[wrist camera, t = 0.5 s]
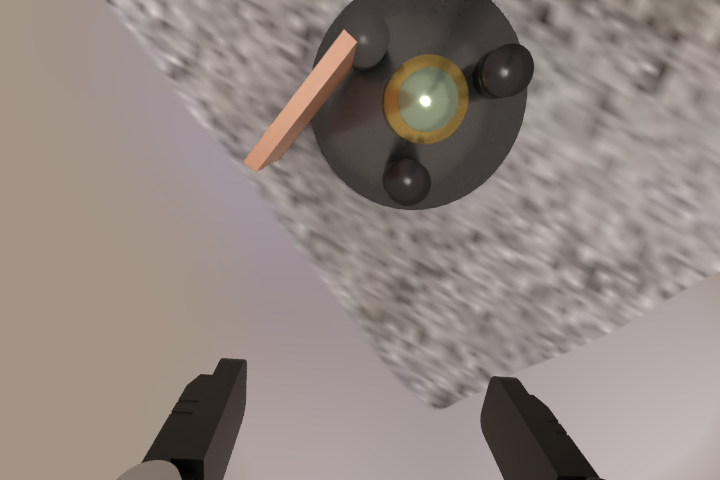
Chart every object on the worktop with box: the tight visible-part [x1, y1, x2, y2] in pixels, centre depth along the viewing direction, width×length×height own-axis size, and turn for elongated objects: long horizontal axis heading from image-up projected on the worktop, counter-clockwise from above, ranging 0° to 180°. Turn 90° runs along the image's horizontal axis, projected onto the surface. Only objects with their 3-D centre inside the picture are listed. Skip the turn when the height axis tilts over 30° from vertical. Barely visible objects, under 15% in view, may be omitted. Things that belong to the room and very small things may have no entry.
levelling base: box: [311, 0, 534, 210], centre depth 32 cm, size 20×20×5 cm
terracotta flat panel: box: [243, 8, 390, 172], centre depth 27 cm, size 14×4×11 cm, turn 139°
